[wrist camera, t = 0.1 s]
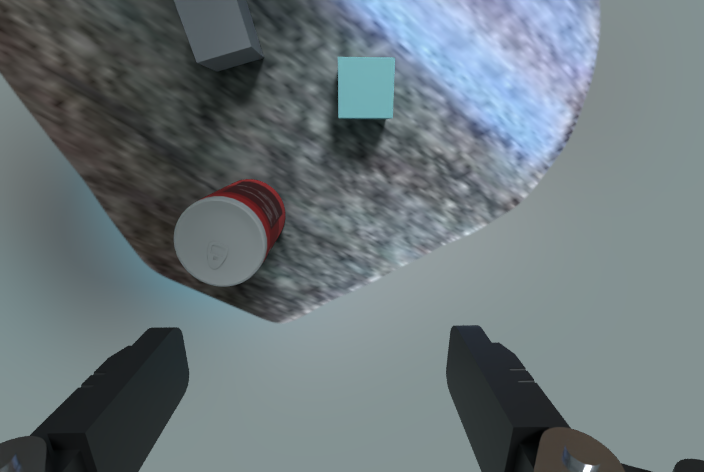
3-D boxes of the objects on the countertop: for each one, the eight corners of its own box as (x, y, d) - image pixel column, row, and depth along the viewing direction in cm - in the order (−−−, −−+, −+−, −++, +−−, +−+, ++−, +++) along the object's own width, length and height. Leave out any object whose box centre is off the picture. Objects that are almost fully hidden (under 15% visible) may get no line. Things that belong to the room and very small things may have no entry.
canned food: (220, 243, 39) (176, 285, 29) (217, 175, 37) (167, 194, 26) (286, 247, 40) (265, 290, 29) (287, 180, 37) (265, 200, 27)
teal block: (338, 66, 34) (338, 56, 29) (387, 67, 34) (394, 57, 29) (339, 118, 35) (338, 117, 31) (385, 119, 36) (392, 118, 31)
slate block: (198, 16, 32) (172, -3, 28) (247, 1, 32) (230, -21, 27) (217, 71, 34) (196, 62, 29) (264, 58, 34) (251, 46, 29)
